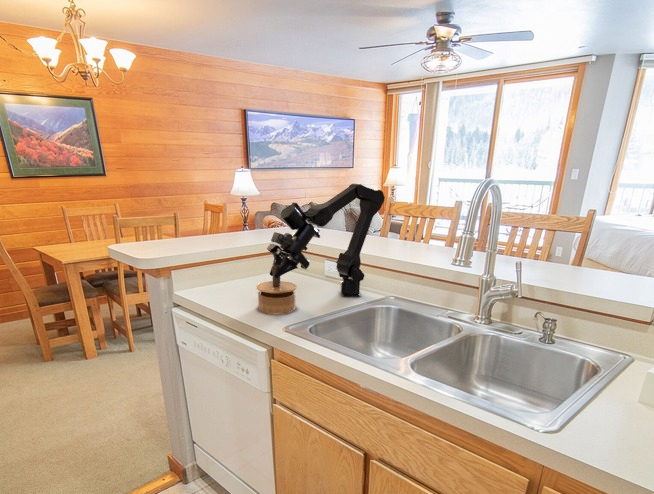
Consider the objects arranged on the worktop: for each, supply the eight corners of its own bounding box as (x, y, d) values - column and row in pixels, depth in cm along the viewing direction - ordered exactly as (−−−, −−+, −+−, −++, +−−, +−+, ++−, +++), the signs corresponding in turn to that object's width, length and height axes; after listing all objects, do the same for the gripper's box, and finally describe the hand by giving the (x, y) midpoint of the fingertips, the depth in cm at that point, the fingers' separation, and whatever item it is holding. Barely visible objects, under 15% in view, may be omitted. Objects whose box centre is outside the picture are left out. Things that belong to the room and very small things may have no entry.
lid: (283, 282, 156) (282, 259, 152) (304, 291, 146) (304, 267, 143) (249, 287, 149) (248, 263, 145) (269, 297, 139) (268, 272, 135)
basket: (282, 300, 158) (282, 286, 156) (302, 310, 149) (302, 294, 147) (252, 306, 151) (251, 291, 149) (270, 316, 142) (270, 300, 140)
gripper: (271, 219, 147) (243, 255, 146) (301, 226, 134) (271, 266, 132) (290, 241, 155) (264, 275, 154) (322, 250, 141) (293, 288, 140)
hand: (272, 276), depth 145 cm, fingers closed on lid, 2 cm apart
